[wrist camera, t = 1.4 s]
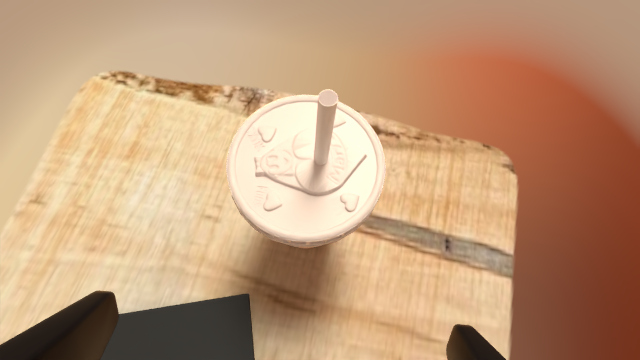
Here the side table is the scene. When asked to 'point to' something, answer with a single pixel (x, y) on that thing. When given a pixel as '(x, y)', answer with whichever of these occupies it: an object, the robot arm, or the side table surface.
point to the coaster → (185, 332)
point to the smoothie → (306, 170)
